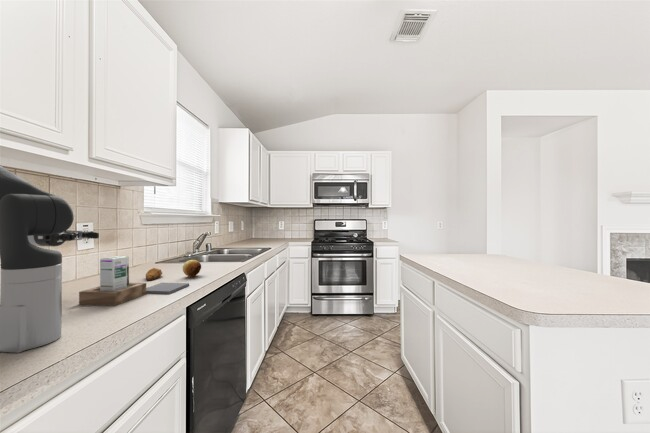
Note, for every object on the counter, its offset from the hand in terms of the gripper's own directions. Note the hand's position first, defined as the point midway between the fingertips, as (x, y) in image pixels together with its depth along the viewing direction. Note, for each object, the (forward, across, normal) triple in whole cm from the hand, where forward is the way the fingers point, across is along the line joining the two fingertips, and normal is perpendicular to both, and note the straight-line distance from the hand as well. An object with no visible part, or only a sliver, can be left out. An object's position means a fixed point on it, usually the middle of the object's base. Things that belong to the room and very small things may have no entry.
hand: (86, 236), depth 92 cm
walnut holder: (+11, 0, +22) cm, 24 cm away
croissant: (+1, +31, +22) cm, 38 cm away
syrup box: (+11, 0, +22) cm, 24 cm away
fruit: (+17, +35, +22) cm, 45 cm away
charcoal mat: (+20, +13, +21) cm, 32 cm away
